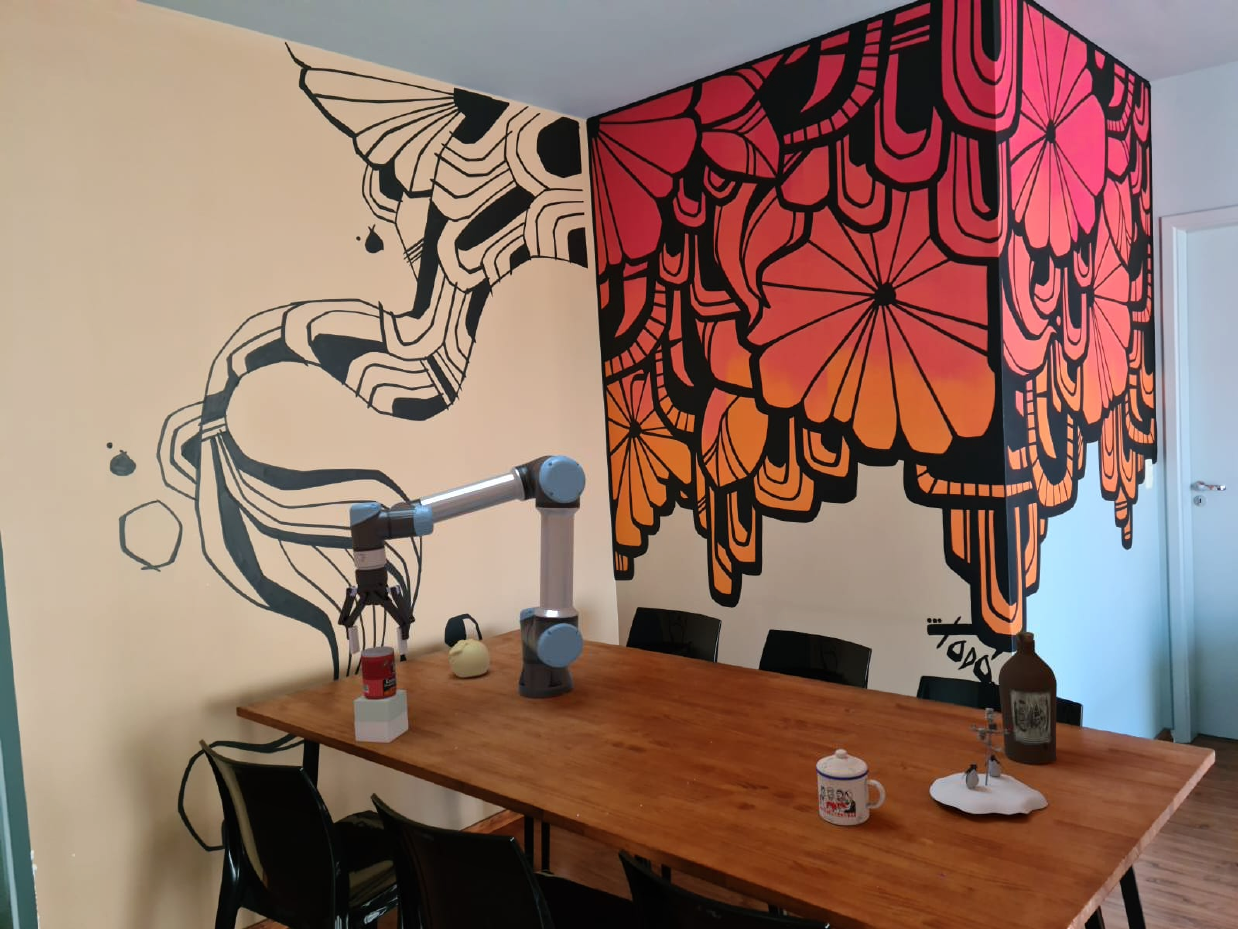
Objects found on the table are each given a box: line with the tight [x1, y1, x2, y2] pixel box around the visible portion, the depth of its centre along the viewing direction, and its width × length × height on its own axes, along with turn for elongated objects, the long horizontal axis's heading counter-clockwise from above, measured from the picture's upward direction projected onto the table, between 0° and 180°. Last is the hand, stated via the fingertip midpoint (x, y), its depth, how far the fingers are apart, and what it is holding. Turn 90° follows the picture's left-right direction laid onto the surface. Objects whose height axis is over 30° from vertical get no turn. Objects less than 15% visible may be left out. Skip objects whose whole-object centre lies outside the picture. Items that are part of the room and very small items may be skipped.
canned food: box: [360, 645, 398, 699], centre depth 212 cm, size 8×8×11 cm
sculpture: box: [447, 638, 491, 678], centre depth 260 cm, size 12×12×11 cm
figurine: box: [929, 707, 1049, 815], centre depth 158 cm, size 20×18×16 cm
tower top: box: [353, 689, 408, 722], centre depth 212 cm, size 9×9×5 cm
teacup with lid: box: [815, 749, 886, 826], centre depth 154 cm, size 12×9×12 cm
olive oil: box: [997, 631, 1058, 765], centre depth 175 cm, size 11×11×25 cm
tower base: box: [353, 709, 409, 744], centre depth 212 cm, size 9×9×5 cm
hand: (379, 653), depth 212 cm, fingers open, 13 cm apart
